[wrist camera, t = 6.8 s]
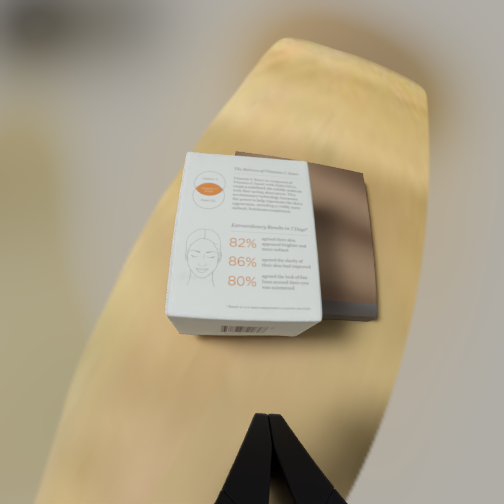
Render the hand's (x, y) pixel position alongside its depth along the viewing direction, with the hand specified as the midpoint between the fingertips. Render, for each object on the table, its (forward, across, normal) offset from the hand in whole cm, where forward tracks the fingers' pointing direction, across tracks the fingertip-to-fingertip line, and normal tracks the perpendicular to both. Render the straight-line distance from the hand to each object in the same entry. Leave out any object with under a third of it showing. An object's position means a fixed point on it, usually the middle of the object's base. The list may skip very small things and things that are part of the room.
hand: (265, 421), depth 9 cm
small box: (+8, +1, +2) cm, 8 cm away
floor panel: (+17, -4, -2) cm, 18 cm away
